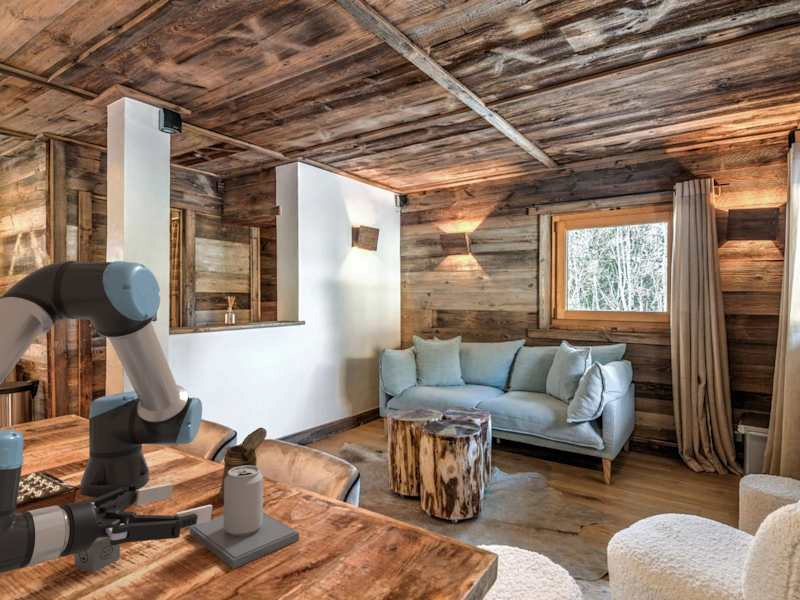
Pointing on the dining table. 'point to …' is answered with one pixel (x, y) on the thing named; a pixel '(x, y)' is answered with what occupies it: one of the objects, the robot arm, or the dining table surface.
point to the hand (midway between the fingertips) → (190, 501)
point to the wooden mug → (242, 454)
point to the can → (243, 500)
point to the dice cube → (98, 555)
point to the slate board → (243, 540)
